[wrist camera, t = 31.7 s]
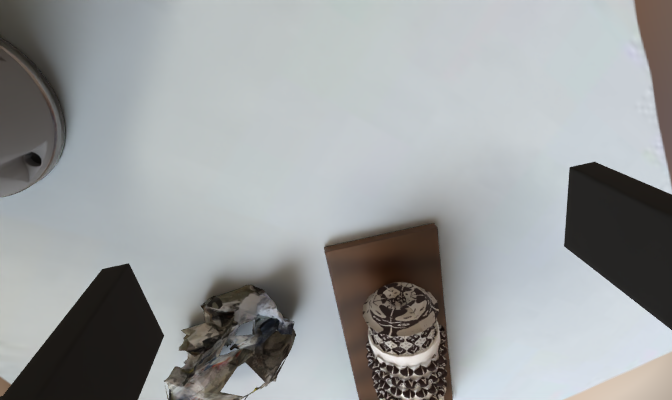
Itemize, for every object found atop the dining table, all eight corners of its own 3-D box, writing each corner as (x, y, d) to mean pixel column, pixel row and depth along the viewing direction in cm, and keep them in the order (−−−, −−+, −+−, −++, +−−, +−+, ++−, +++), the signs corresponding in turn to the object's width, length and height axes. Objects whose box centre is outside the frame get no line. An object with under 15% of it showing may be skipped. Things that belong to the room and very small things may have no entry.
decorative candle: (469, 454, 49) (463, 301, 39) (410, 497, 46) (386, 343, 36) (424, 400, 57) (409, 260, 47) (370, 434, 54) (341, 292, 43)
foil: (313, 373, 48) (194, 458, 39) (268, 326, 55) (161, 389, 47) (302, 299, 42) (163, 380, 34) (254, 258, 50) (131, 316, 42)
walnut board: (450, 399, 57) (453, 406, 56) (364, 419, 57) (365, 427, 56) (433, 222, 45) (437, 227, 44) (324, 246, 44) (324, 252, 43)
